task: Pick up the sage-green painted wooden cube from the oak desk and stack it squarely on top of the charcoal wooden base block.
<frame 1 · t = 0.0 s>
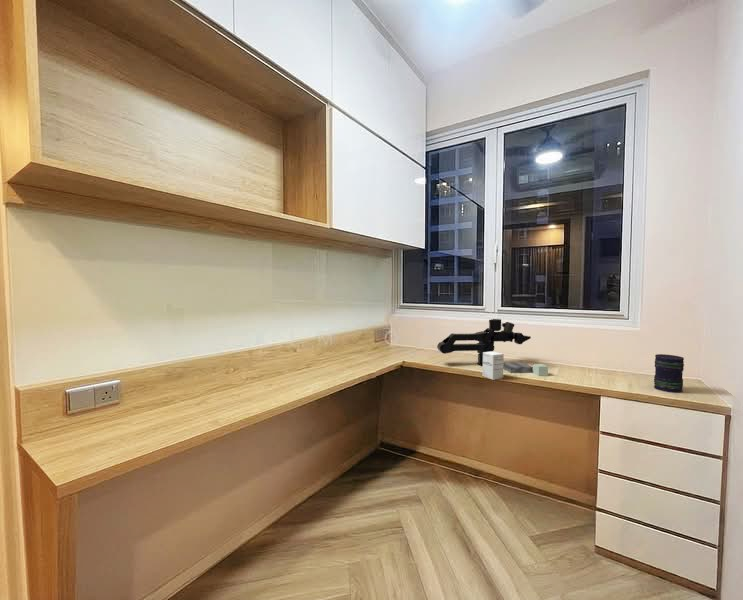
hand: (526, 336, 199), 17 cm above the table, tool horizontal, fingers open, 9 cm apart
supplement box: (492, 377, 172), on the table
sage cube: (540, 374, 177), on the table
charcoal base: (516, 369, 187), on the table
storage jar: (667, 389, 152), on the table
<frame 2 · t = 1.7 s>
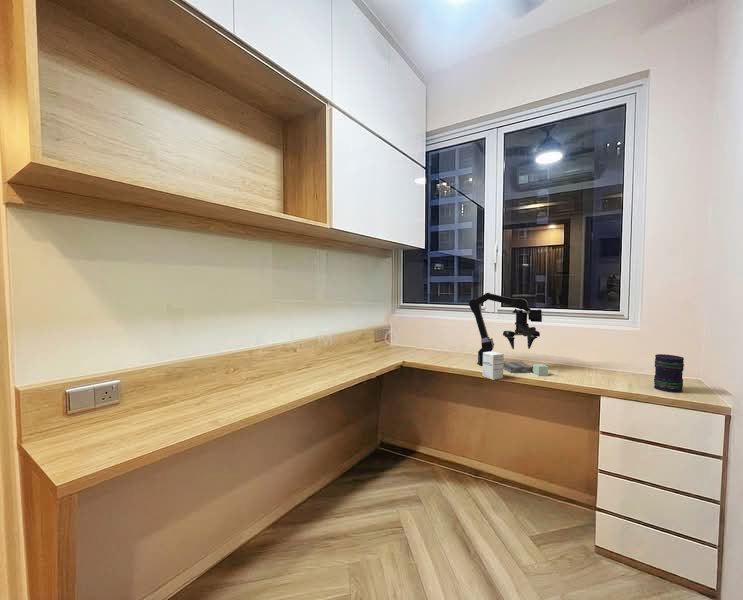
hand: (521, 348, 189), 11 cm above the table, tool pointing down, fingers open, 9 cm apart
nothing on the table moved.
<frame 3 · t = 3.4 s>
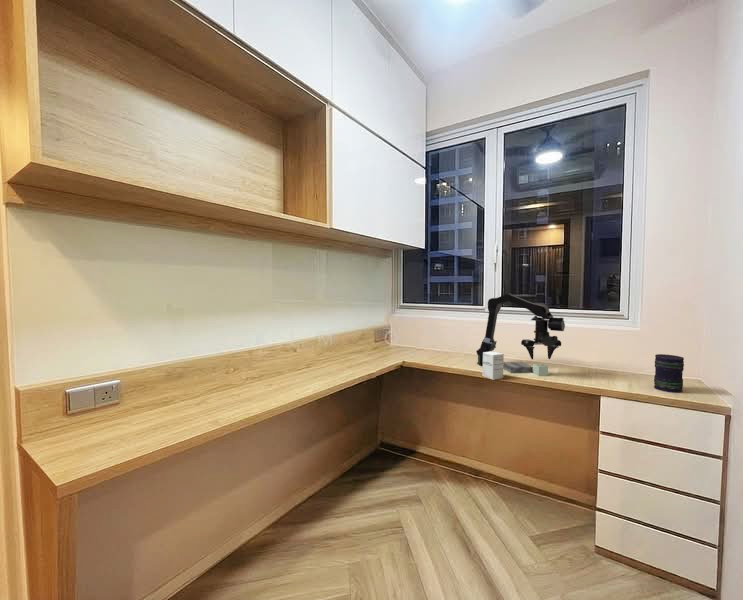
hand: (540, 359, 177), 8 cm above the table, tool pointing down, fingers open, 9 cm apart
nothing on the table moved.
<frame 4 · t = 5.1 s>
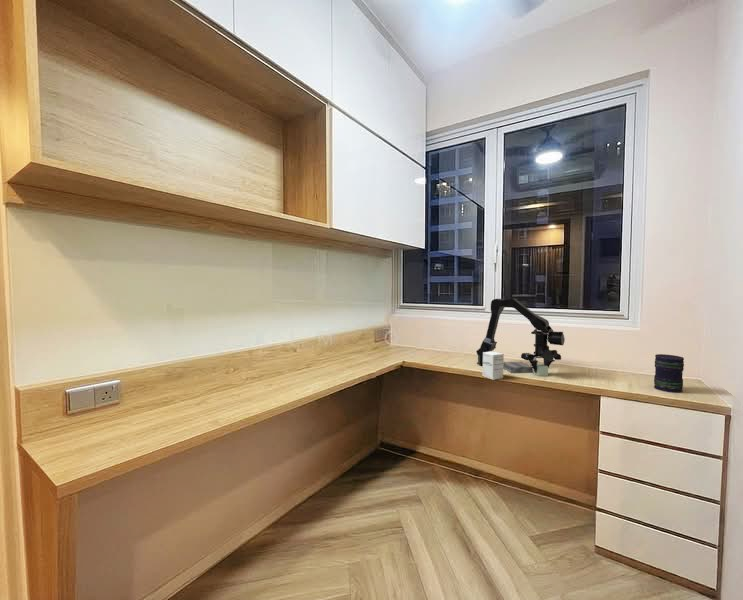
hand: (540, 372, 177), 1 cm above the table, tool pointing down, fingers closed on sage cube, 5 cm apart
sage cube: (540, 374, 177), on the table, touching gripper
everything else where it was.
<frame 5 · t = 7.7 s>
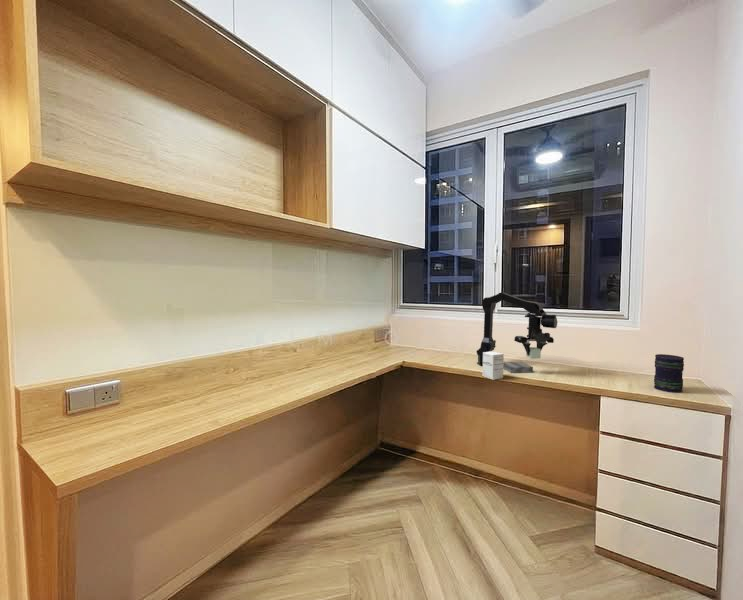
hand: (533, 355, 180), 10 cm above the table, tool pointing down, fingers closed on sage cube, 5 cm apart
sage cube: (533, 357, 180), point 8 cm above the table, touching gripper
everything else where it was.
when the fingers open (5 cm above the table, at t = 10.3 s): sage cube stays where it is, resting on charcoal base.
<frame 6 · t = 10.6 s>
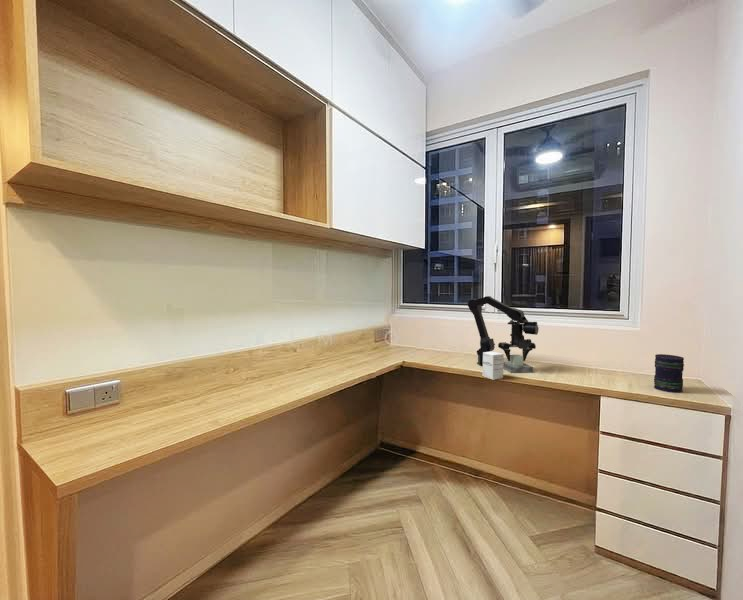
hand: (516, 361, 186), 5 cm above the table, tool pointing down, fingers open, 8 cm apart
sage cube: (516, 364, 186), point 3 cm above the table, touching charcoal base
everything else where it was.
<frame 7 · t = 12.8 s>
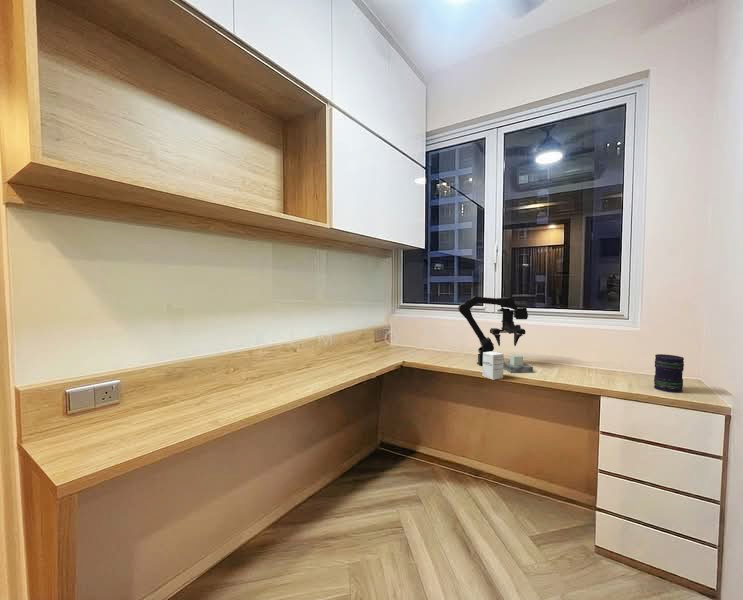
hand: (507, 345, 196), 11 cm above the table, tool pointing down, fingers open, 9 cm apart
nothing on the table moved.
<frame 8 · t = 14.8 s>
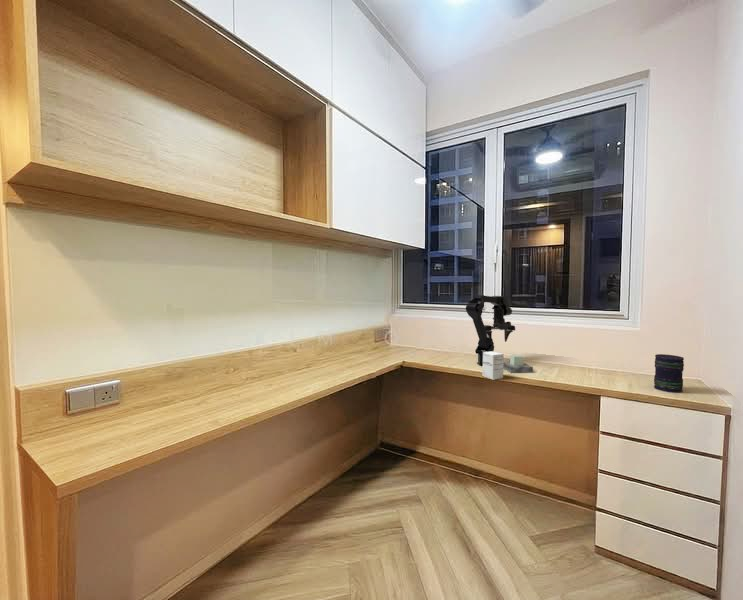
hand: (498, 341, 207), 12 cm above the table, tool pointing down, fingers open, 9 cm apart
nothing on the table moved.
at the end: sage cube inside the target area on the charcoal base (0.0 cm from its centre), point 3.0 cm above the charcoal base's base; sage cube tilted 0°; the gripper is holding nothing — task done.
